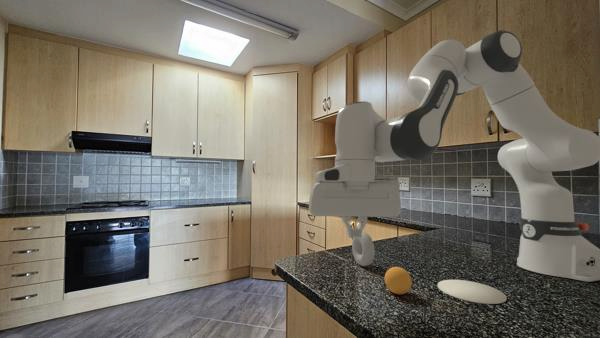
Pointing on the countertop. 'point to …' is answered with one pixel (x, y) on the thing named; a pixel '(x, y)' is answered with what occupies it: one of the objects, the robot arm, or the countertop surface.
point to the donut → (363, 249)
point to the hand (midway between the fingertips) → (354, 237)
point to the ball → (398, 280)
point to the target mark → (472, 291)
